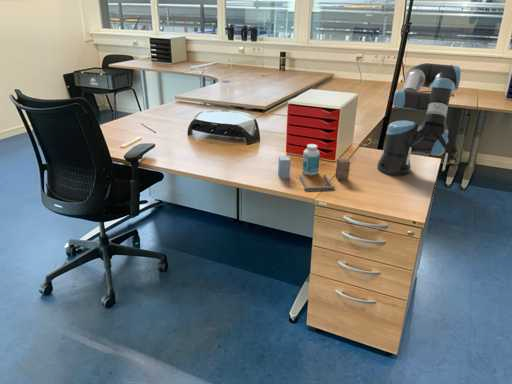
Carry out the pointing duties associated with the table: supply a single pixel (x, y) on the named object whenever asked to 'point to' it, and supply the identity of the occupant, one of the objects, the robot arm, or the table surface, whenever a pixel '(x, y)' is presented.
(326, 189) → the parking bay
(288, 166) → the slate-blue block
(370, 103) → the table surface
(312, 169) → the pill bottle
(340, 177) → the walnut block
